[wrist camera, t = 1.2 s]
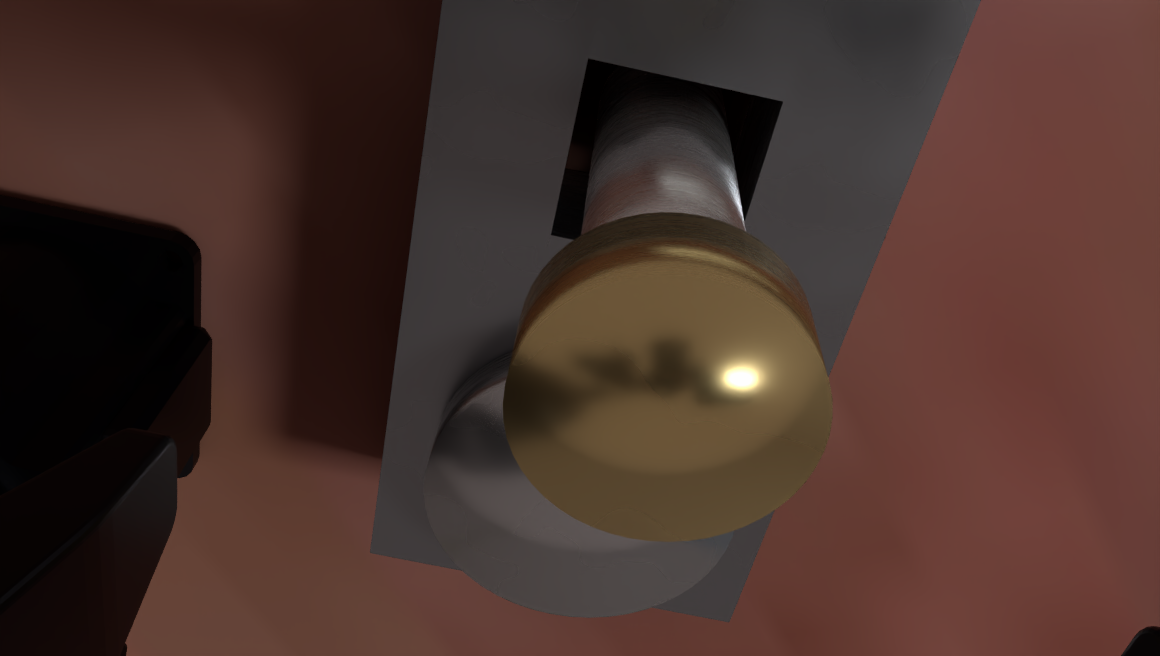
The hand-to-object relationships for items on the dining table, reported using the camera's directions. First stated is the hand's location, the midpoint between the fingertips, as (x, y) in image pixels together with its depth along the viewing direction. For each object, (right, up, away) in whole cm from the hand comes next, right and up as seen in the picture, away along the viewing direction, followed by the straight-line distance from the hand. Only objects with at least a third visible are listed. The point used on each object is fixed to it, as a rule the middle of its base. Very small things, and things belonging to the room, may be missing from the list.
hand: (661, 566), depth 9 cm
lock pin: (+1, +6, +10) cm, 12 cm away
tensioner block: (0, +4, +12) cm, 13 cm away
